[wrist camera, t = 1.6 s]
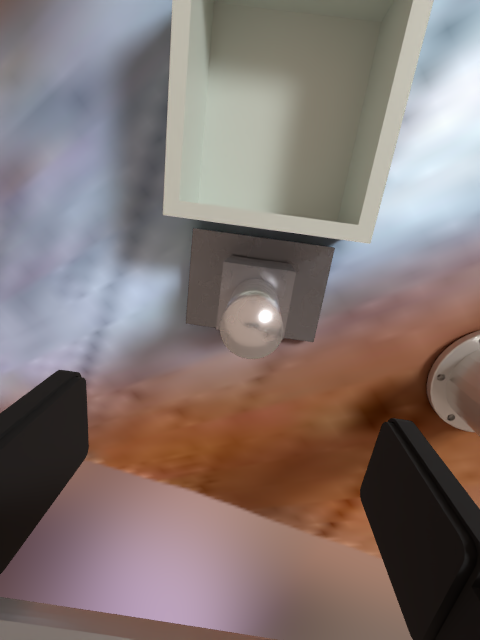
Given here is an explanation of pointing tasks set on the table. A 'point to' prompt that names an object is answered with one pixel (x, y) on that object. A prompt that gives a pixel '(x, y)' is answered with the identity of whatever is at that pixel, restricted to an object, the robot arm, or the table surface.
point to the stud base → (220, 245)
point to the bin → (288, 110)
